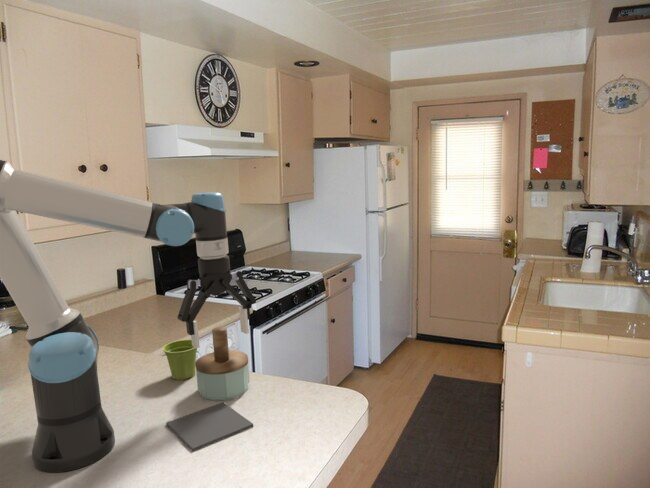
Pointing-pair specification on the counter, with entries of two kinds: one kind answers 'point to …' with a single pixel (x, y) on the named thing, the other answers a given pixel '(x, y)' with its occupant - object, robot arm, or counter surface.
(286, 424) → the counter surface
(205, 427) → the mat
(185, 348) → the plant pot
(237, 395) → the bowl
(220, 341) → the lid
